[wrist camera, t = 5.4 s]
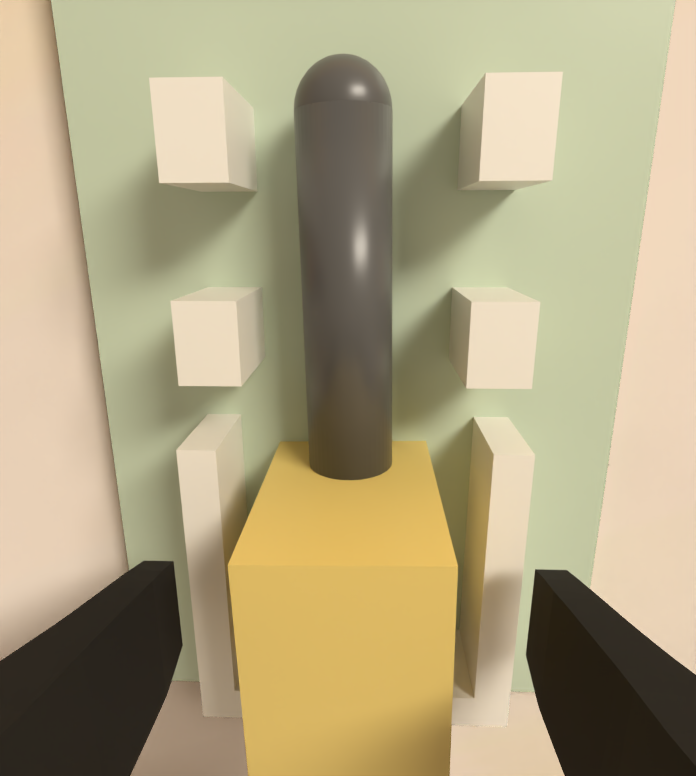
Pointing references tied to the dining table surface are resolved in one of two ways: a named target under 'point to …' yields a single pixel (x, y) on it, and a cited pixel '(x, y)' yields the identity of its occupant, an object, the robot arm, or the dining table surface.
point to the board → (409, 277)
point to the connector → (346, 491)
